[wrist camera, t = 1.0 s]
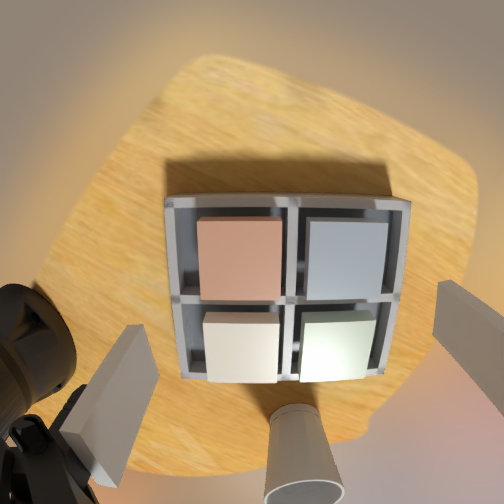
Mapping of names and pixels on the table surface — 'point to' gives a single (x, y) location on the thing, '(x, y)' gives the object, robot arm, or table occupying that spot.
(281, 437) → the cup
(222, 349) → the key cream
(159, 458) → the table surface
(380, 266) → the key slate
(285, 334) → the keypad base
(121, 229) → the table surface
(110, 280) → the table surface
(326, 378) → the key sage
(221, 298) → the key terracotta
